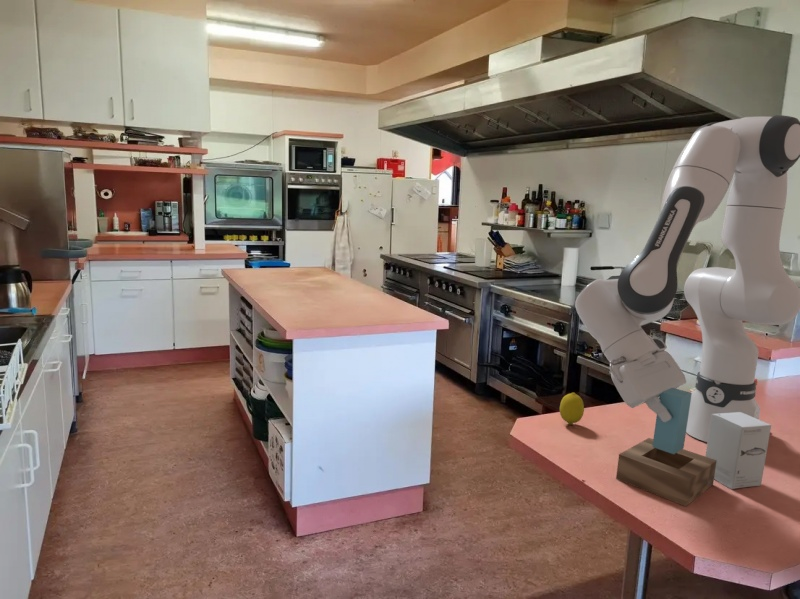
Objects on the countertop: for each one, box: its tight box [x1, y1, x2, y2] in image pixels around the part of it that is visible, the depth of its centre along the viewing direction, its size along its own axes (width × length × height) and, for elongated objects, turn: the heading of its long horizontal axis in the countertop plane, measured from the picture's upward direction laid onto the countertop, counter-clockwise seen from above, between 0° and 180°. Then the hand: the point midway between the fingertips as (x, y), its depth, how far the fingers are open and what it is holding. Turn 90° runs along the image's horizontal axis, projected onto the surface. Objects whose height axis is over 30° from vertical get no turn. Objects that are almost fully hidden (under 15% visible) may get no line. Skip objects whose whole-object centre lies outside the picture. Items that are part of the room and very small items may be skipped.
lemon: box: [559, 392, 585, 426], centre depth 137 cm, size 6×6×8 cm
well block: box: [615, 437, 717, 508], centre depth 110 cm, size 13×13×5 cm
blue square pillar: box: [652, 388, 692, 454], centre depth 108 cm, size 4×4×11 cm
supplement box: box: [704, 412, 772, 490], centre depth 112 cm, size 7×7×13 cm
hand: (675, 416), depth 108 cm, fingers closed on blue square pillar, 4 cm apart
